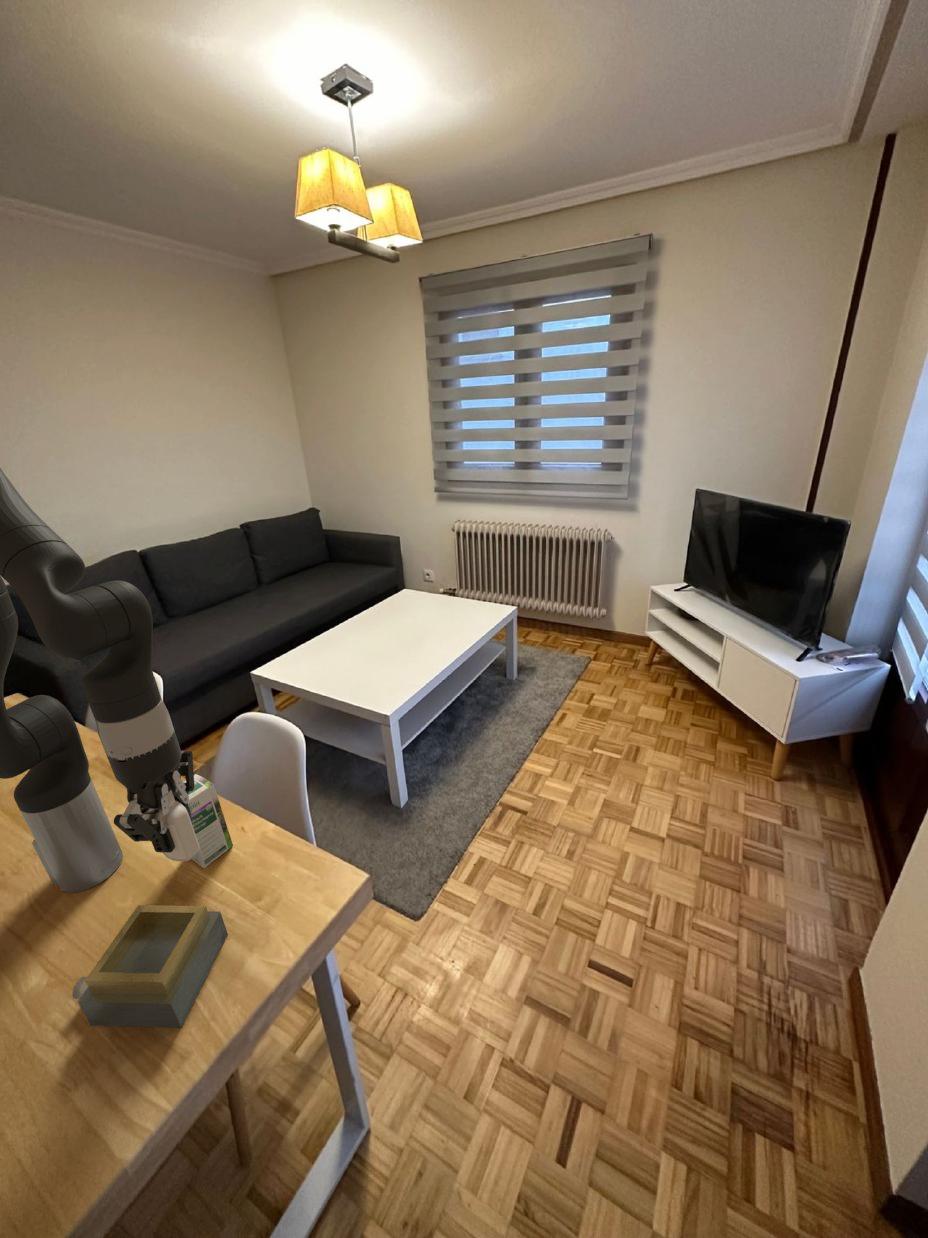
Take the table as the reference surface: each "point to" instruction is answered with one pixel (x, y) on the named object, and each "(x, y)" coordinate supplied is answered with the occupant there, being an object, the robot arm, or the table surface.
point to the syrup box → (208, 822)
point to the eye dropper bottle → (180, 831)
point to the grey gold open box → (153, 968)
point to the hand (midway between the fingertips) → (175, 837)
